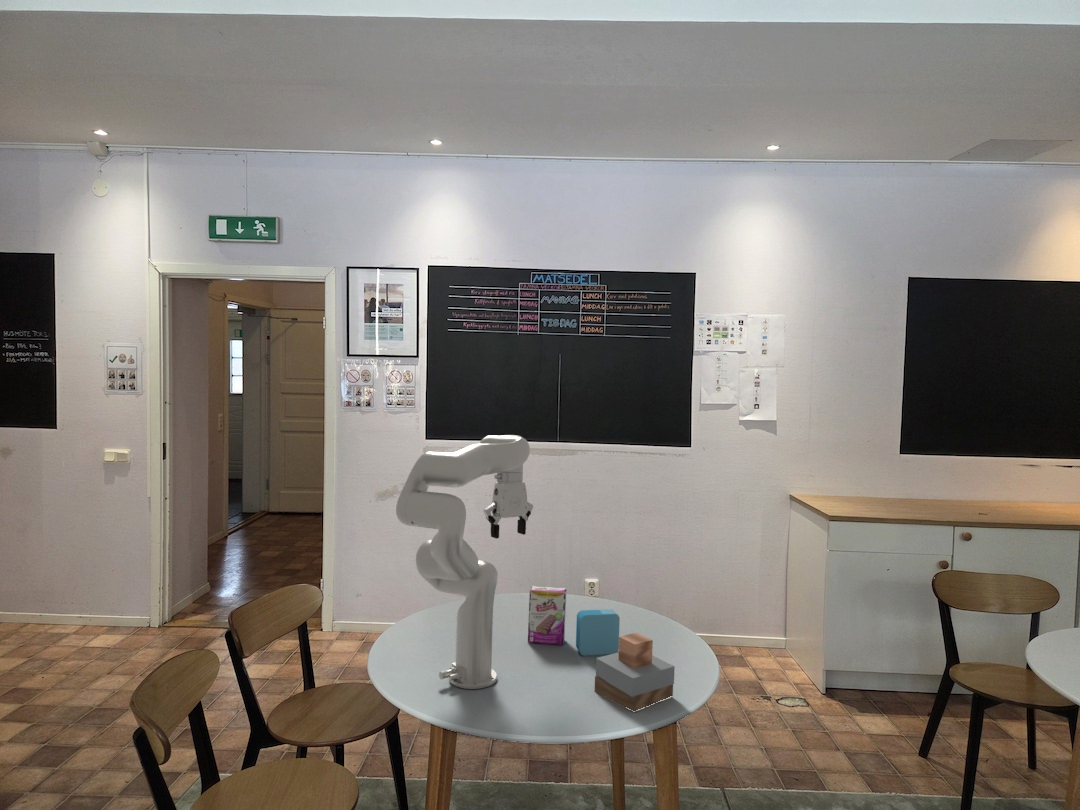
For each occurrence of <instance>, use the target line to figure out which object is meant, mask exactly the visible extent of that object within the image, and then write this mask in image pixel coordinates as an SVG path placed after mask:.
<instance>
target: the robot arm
mask: <svg viewBox="0 0 1080 810" xmlns="http://www.w3.org/2000/svg"><path fill="white" fill-rule="evenodd" d="M530 450H531V449H530V444H529V442H528V440H526V438H524V437H523V436H521V435H515V434H504V435H486V436H485V437H483V438H482V439H480V442H479V443H474V444H470V445H468V446H465V447H463V448H462V449H459V450H456V451H454V452H440V451H439V452H438V451H425V452H424V453H422V454H421V455H420V456H419V457H418V459H416V461H415V463H414V465H413V467H412V468H411V470H410V472H409V474H408V476H407V479H406V481H405V483H404V486H403V487H402V489H401V492H400V494H399V497H398V498H397V502H396V509H395V514H396V517H397V519H398V521H399V522H400V523H401V524H403V525H405V526H409V527H417V528H423V529H424V528H425V529H426V528H427V529H434V530H438V532H436V533H435V535H434V536H433V537H432V539H427V540H425V541H423V542H422V544H420V546H419V548H418V549H417V551H416V555H415V565H416V570H417V572H418V574H419V575H420V576H421V577H422V578H423V579H424V581H426V582H427V583H428V584H430V586H431V587H433V588H434V589H435V590H437V591H438V592H440V593H441V592H442V593H445V594H450V595H451V594H452V595H458V596H463V597H465V600H464V601H463V603H462V604H460V606H459V608H458V609H457V612H456V631H455V633H456V634H455V635H456V637H455V662H452V663H451V666H450V667H449V669H445V670H441V671H439V673H438V677H439V679H440V680H445V679H449V682H450V683H451V684H452V685H453V686H455V687H457V688H461V689H466V690H479V689H480V690H481V689H485V688H488V687H490V686H493V685H494V684H495V683H496V682H497V680H498V673H497V672H496V671H495V670H494V669H493V668H492V663H493V662H492V659H493V627H494V626H493V624H494V622H493V621H494V620H493V619H494V602H495V594H496V591H497V590H496V589H497V584H498V575H499V574H498V573H499V572H498V570H497V568H496V566H495V565H494V564H492V563H491V562H488V561H486V560H482V559H481V560H480V559H479V558H478V556H477V554H476V552H475V551H474V550H473V548H472V547H471V546H470V545H469V543H468V542H467V541H466V540H465V538H464V533H465V525H466V520H467V509H466V505H465V503H464V501H463V500H462V499H461V498H459V497H458V496H456V495H454V494H451V493H445V492H444V493H443V492H436V491H435V492H434V491H428V489H429V487H430V486H431V487H440V488H442V487H443V488H460V487H464V486H466V485H467V484H469V483H471V482H473V481H475V480H477V479H478V478H480V477H482V476H489V475H493V474H494V479H495V480H496V481H495V483H494V487H493V493H492V501H491V504H490V505H488V506H487V507H485V508H484V509H483V514H484V516H485V519H486V520H487V521H488V523H489V524H490V537H491V538H494V539H499V538H500V524H499V522H500V520H501V519H509V518H515V517H518V519H517V533H518V534H520V535H524V536H525V535H526V533H527V532H526V530H527V522H528V520H529V517H530V516H531V514H532V511H533V508H534V504H532V503H530V502H529V501H528V493H527V487H526V486H527V485H526V482H525V481H524V480H523V479H524V478H523V477H524V464H525V463H526V461H527V460H528V459H529V456H530V452H531V451H530Z"/></svg>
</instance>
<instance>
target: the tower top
mask: <svg viewBox="0 0 1080 810" xmlns="http://www.w3.org/2000/svg"><path fill="white" fill-rule="evenodd" d="M595 659H596V660H595V676H598V677H599V678H601V679H603V680H604V681H606V682H608V683H609V684H611V685H613V686H615V687H616V688H618V689H620V690H621V691H623V692H625V693H626V694H628V695H630V696H631V697H634V696H637V695H640V694H643V693H647V692H650V691H653V690H656V689H660V688H663V687H666V686H669V685H672V684H673V685H675V667H676V666H675V665H673V664H671V663H669V662H666V661H664V660H663V659H660V658H659V657H657V656H655V655H653V654H652V664H648V665H645V666H641V667H637V668H633V667H631V666H629V665H627V664H625V663H623V662H621V661H620V660H618V659H619V651H618V652H617V653H614V654H607V655H601V656H600V657H596V658H595Z"/></svg>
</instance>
